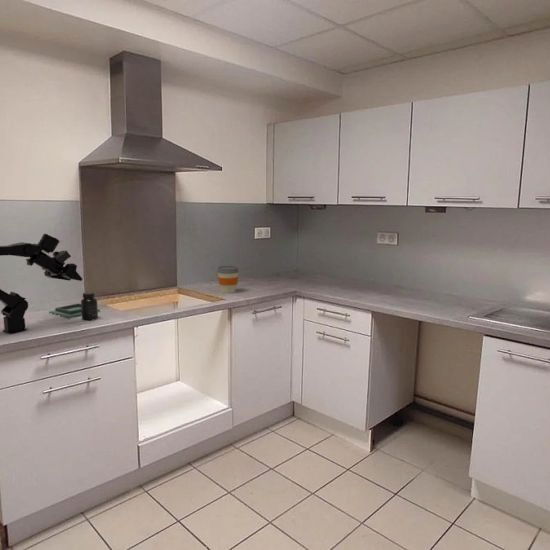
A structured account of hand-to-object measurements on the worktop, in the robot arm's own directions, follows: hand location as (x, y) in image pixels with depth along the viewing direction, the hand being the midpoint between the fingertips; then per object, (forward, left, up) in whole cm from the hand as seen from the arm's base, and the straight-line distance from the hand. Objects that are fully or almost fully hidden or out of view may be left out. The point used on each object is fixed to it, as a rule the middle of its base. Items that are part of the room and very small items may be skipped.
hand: (76, 279), depth 193 cm
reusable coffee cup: (+87, -18, -18) cm, 91 cm away
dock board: (+5, +11, -18) cm, 22 cm away
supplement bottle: (+2, -5, -18) cm, 19 cm away
